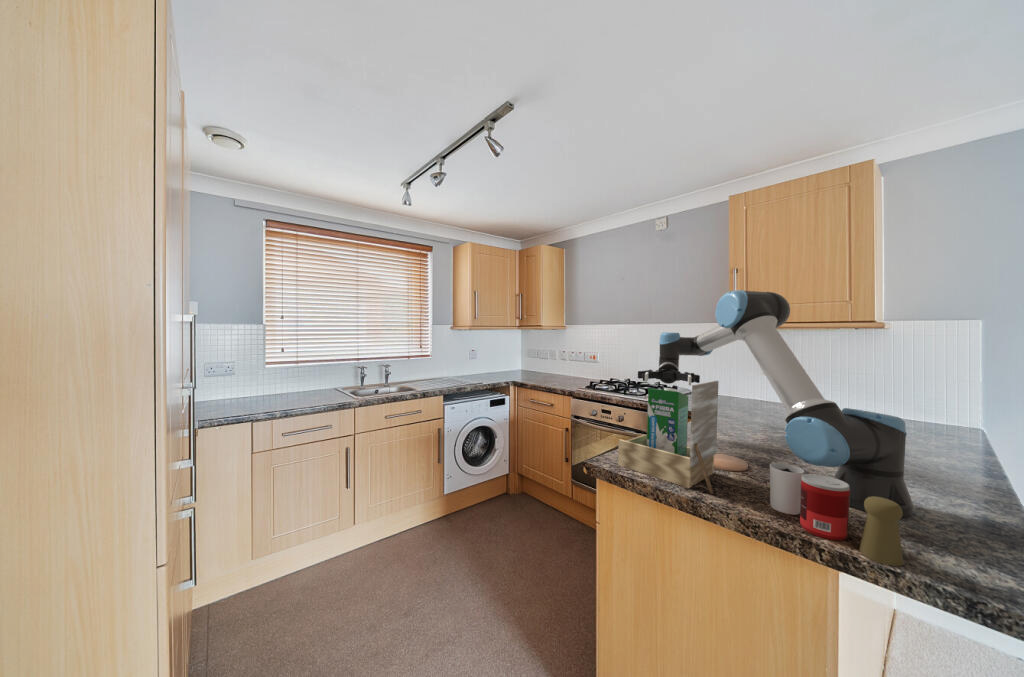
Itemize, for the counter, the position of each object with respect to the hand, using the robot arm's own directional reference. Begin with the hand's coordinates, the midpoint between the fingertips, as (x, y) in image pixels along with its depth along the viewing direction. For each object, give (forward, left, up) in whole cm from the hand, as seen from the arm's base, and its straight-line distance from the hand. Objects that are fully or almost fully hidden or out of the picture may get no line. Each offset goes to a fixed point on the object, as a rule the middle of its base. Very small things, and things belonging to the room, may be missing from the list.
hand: (667, 379), depth 124 cm
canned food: (-44, +18, -27) cm, 54 cm away
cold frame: (-8, +10, -27) cm, 29 cm away
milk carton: (-5, +9, -27) cm, 29 cm away
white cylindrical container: (-36, +12, -27) cm, 46 cm away
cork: (-53, +21, -27) cm, 63 cm away
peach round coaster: (-15, -10, -26) cm, 32 cm away
